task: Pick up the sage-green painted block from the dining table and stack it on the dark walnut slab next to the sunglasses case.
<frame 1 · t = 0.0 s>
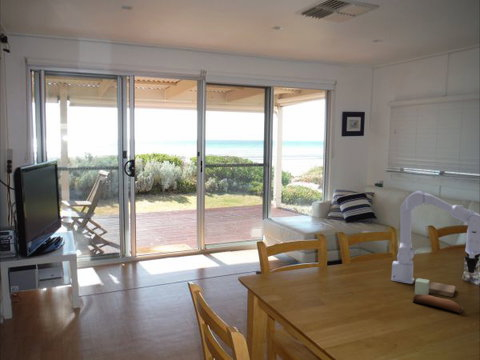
hand: (471, 270, 184), 10 cm above the table, tool pointing down, fingers open, 7 cm apart
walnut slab: (441, 291, 186), on the table
green block: (421, 293, 183), on the table
sunglasses case: (438, 307, 169), on the table
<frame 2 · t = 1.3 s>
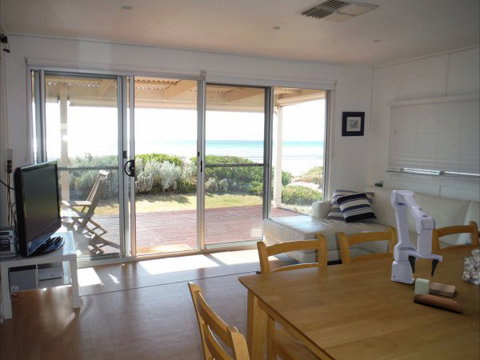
hand: (422, 274, 182), 9 cm above the table, tool pointing down, fingers open, 7 cm apart
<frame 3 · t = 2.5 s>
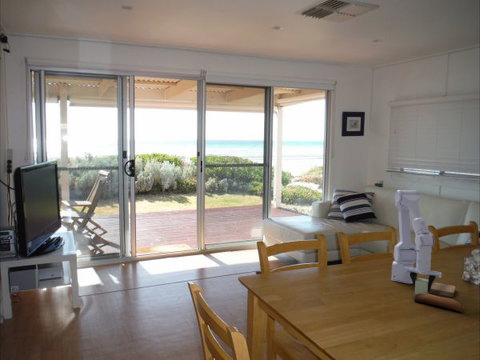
hand: (421, 290, 183), 1 cm above the table, tool pointing down, fingers closed on green block, 5 cm apart
green block: (421, 293, 183), on the table, touching gripper
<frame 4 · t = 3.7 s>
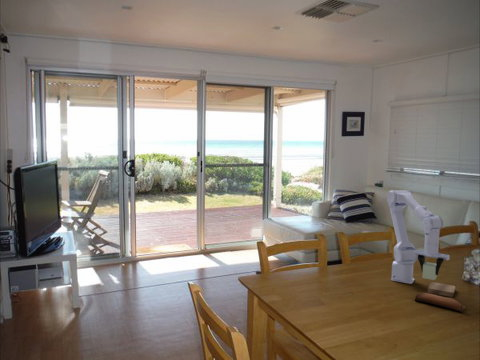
hand: (429, 273, 183), 9 cm above the table, tool pointing down, fingers closed on green block, 5 cm apart
green block: (429, 277, 183), point 7 cm above the table, touching gripper
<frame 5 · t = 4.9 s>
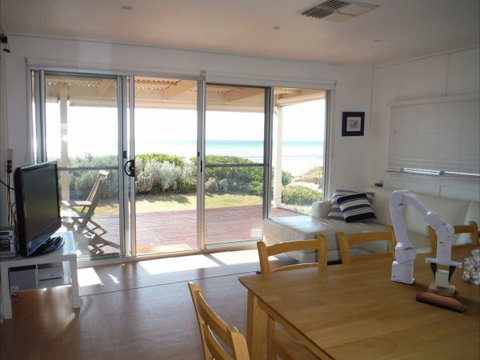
hand: (442, 280, 185), 5 cm above the table, tool pointing down, fingers closed on green block, 5 cm apart
green block: (441, 284, 185), point 3 cm above the table, touching gripper
when the fingers open (5 cm above the table, at t = 5.3 s): green block drops 1 cm, resting on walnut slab.
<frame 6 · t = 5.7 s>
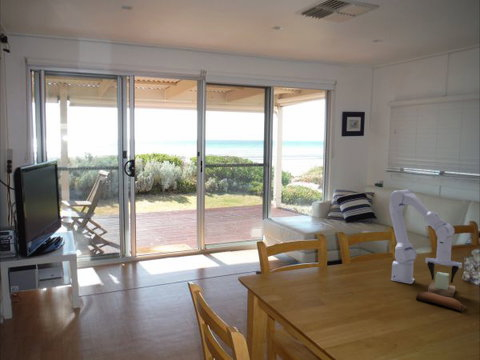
hand: (442, 280, 185), 5 cm above the table, tool pointing down, fingers open, 7 cm apart
green block: (441, 287, 185), point 2 cm above the table, touching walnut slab
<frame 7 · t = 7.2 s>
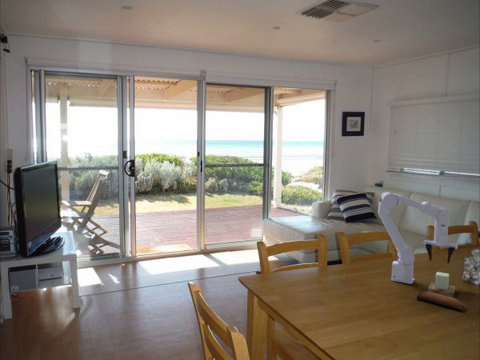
hand: (439, 261, 196), 10 cm above the table, tool pointing down, fingers open, 7 cm apart
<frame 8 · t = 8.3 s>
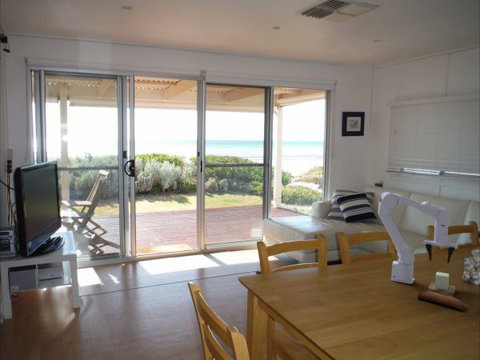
hand: (439, 261, 196), 10 cm above the table, tool pointing down, fingers open, 7 cm apart
at the end: green block inside the target area on the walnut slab (0.3 cm from its centre), point 2.0 cm above the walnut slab's base; green block tilted 0°; the gripper is holding nothing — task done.
